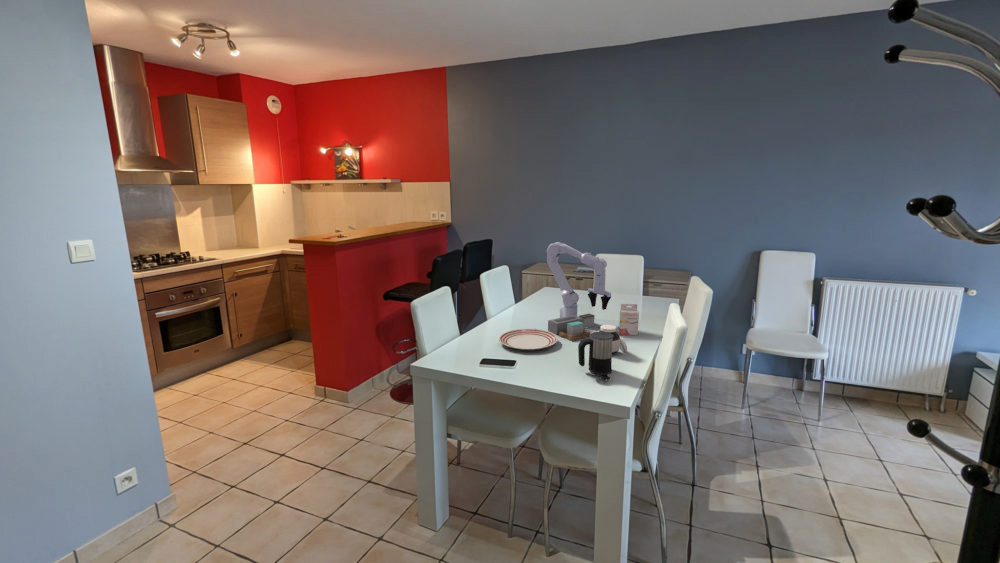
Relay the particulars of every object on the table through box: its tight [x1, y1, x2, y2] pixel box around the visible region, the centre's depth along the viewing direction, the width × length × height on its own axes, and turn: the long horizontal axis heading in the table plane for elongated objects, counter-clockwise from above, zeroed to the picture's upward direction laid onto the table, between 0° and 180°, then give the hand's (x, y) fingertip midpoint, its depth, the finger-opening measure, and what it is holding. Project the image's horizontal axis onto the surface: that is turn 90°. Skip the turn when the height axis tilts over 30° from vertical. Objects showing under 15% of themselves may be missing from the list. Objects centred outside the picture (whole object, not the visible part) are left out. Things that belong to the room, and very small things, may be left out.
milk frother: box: [577, 331, 613, 382], centre depth 184 cm, size 14×16×15 cm
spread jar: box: [598, 324, 628, 356], centre depth 209 cm, size 12×11×12 cm
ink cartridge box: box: [618, 303, 640, 336], centre depth 234 cm, size 9×5×15 cm, turn 84°
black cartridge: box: [578, 313, 595, 329], centre depth 247 cm, size 4×7×6 cm, turn 123°
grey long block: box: [547, 315, 583, 336], centre depth 241 cm, size 7×17×6 cm, turn 123°
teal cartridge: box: [567, 321, 584, 336], centre depth 231 cm, size 4×7×6 cm, turn 123°
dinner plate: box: [498, 328, 558, 351], centre depth 222 cm, size 27×27×3 cm
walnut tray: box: [558, 329, 591, 342], centre depth 231 cm, size 9×12×2 cm
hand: (598, 307), depth 248 cm, fingers open, 7 cm apart
